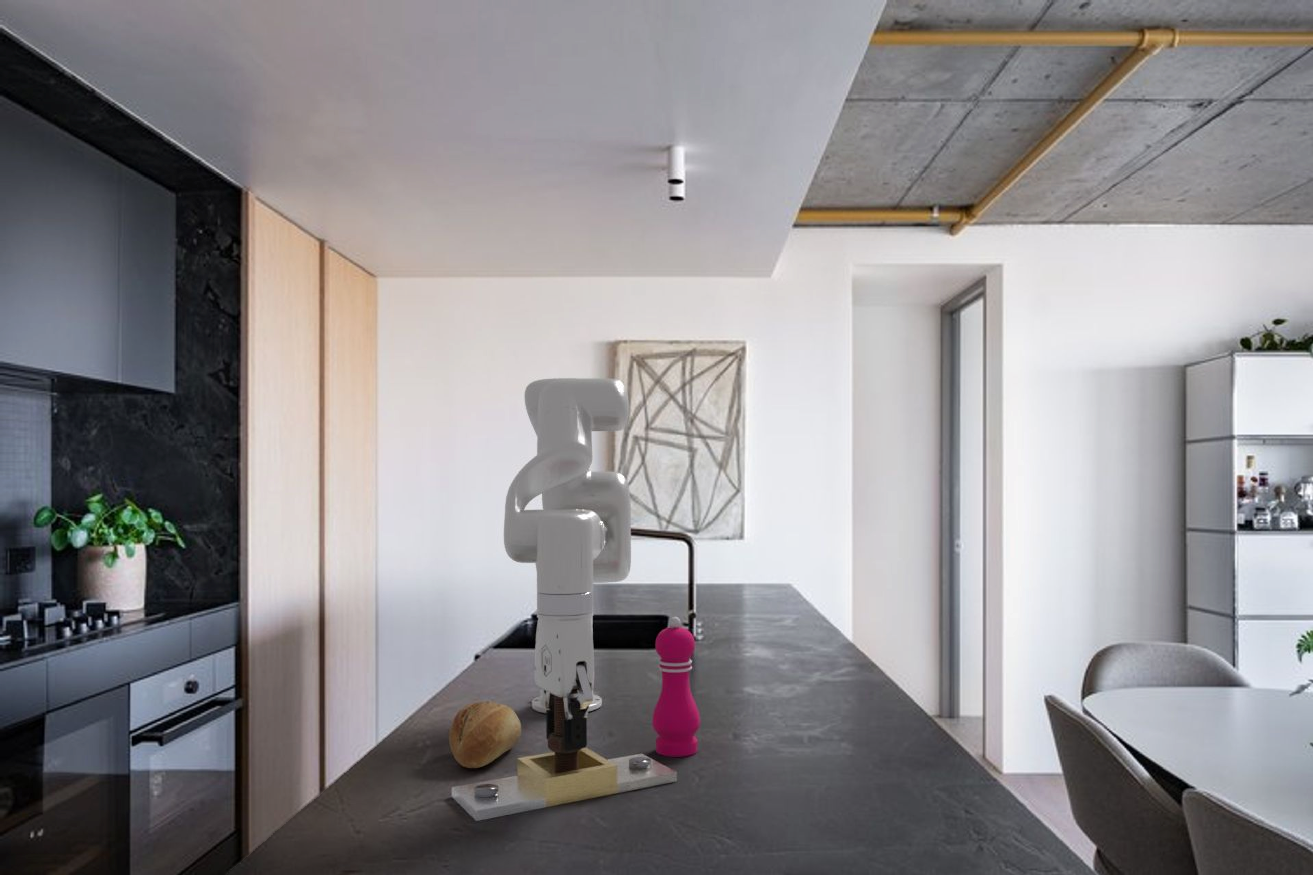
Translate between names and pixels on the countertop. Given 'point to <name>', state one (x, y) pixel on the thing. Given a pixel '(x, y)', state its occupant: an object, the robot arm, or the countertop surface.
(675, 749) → the pepper mill
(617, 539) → the robot arm
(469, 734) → the bread roll
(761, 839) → the countertop surface
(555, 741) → the bolt
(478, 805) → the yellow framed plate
